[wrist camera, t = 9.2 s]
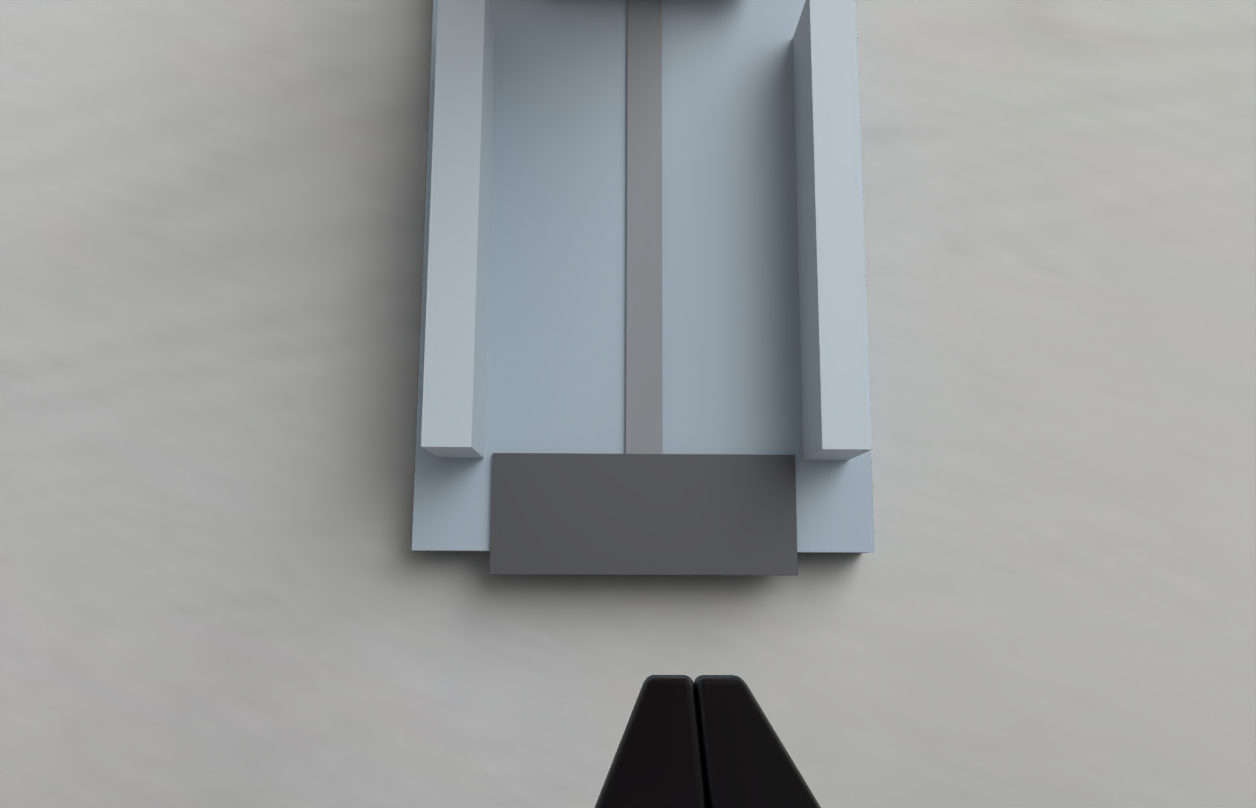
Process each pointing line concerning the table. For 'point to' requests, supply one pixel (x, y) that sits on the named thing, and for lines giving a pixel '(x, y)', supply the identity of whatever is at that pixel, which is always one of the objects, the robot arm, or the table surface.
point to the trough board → (644, 288)
